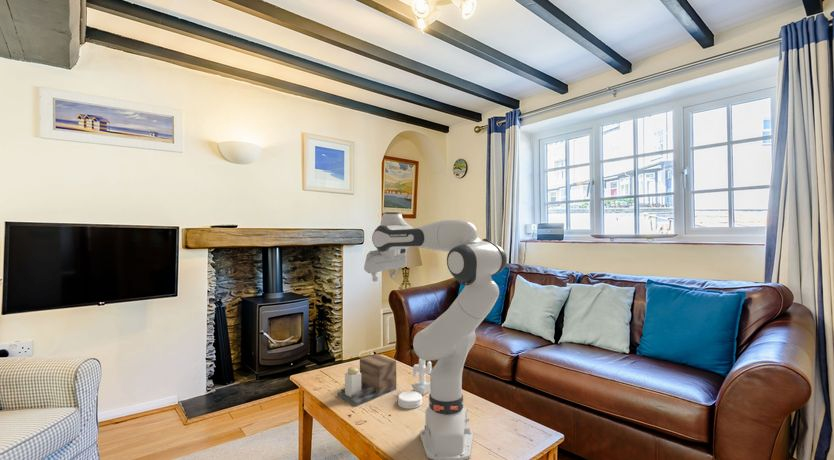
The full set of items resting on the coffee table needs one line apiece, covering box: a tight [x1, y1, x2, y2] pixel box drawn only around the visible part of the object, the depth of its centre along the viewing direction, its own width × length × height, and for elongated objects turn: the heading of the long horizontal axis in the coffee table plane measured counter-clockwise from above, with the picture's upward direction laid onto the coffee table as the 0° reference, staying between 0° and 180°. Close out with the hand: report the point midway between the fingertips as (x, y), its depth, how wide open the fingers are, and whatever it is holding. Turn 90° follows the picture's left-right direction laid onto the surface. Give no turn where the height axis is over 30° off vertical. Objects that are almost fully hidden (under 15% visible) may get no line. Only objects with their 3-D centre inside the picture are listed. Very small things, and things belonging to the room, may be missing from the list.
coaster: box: [397, 390, 423, 410], centre depth 157 cm, size 10×10×4 cm
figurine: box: [410, 358, 433, 396], centre depth 168 cm, size 7×9×15 cm
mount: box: [336, 353, 397, 407], centre depth 168 cm, size 22×14×13 cm, turn 136°
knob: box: [344, 366, 361, 397], centre depth 162 cm, size 5×5×11 cm
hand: (383, 279), depth 162 cm, fingers open, 8 cm apart
